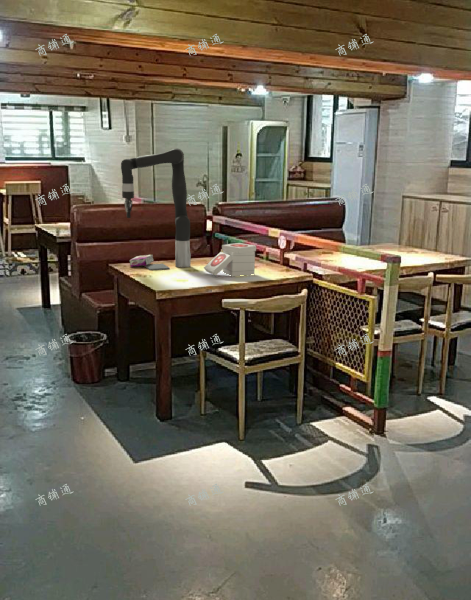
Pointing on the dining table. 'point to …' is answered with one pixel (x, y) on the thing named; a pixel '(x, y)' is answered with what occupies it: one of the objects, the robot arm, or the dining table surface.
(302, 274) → the dining table surface
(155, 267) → the mat
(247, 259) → the stack of white boxes
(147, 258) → the candy bar box
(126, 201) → the robot arm
